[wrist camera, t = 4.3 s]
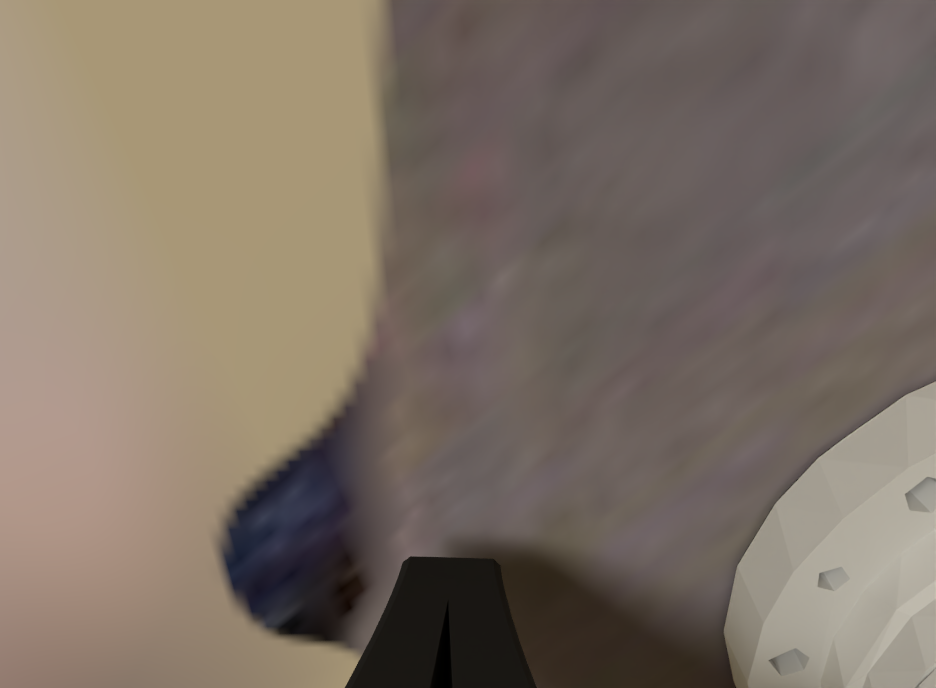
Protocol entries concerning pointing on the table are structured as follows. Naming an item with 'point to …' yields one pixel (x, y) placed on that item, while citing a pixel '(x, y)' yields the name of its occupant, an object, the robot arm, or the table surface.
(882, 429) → the mechanical component
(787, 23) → the table surface
